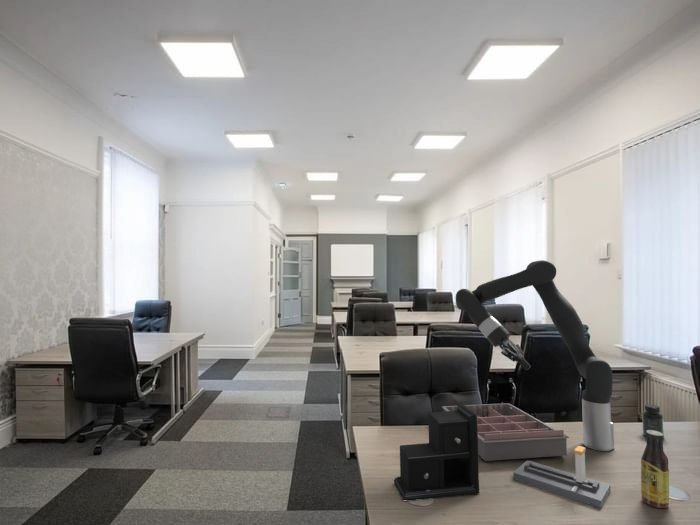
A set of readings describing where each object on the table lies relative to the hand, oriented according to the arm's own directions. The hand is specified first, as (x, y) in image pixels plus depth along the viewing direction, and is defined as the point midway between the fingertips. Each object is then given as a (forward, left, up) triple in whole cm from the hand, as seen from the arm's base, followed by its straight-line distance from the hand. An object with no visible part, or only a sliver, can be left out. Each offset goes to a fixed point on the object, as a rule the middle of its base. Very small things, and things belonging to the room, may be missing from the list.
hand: (528, 368), depth 142 cm
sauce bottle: (-21, +29, -32) cm, 48 cm away
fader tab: (-5, +22, -29) cm, 37 cm away
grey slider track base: (0, +18, -32) cm, 36 cm away
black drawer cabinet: (+38, +19, -32) cm, 53 cm away
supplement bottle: (-59, -19, -32) cm, 70 cm away
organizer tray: (+4, -17, -32) cm, 37 cm away
